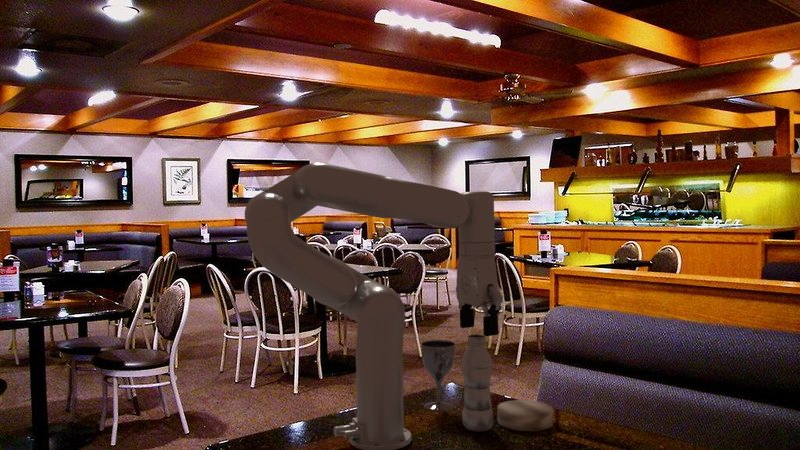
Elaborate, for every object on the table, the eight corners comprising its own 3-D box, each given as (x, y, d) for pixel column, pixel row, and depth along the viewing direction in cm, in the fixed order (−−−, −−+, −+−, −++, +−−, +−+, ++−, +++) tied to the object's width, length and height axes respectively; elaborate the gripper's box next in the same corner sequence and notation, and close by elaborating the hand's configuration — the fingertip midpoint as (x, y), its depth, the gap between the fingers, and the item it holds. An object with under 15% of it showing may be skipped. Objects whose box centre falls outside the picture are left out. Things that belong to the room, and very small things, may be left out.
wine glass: (415, 407, 157) (414, 344, 157) (434, 399, 164) (433, 338, 163) (443, 413, 152) (442, 348, 152) (462, 405, 159) (461, 342, 158)
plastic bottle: (483, 437, 137) (483, 340, 136) (455, 431, 141) (455, 337, 140) (499, 428, 142) (498, 335, 141) (471, 422, 146) (471, 331, 145)
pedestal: (517, 434, 139) (517, 420, 138) (487, 417, 150) (487, 404, 149) (564, 426, 143) (564, 412, 143) (532, 410, 154) (531, 397, 154)
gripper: (442, 248, 147) (443, 326, 147) (482, 254, 131) (484, 340, 132) (471, 247, 150) (473, 322, 150) (515, 251, 134) (516, 336, 135)
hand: (478, 331), depth 141 cm, fingers open, 9 cm apart
